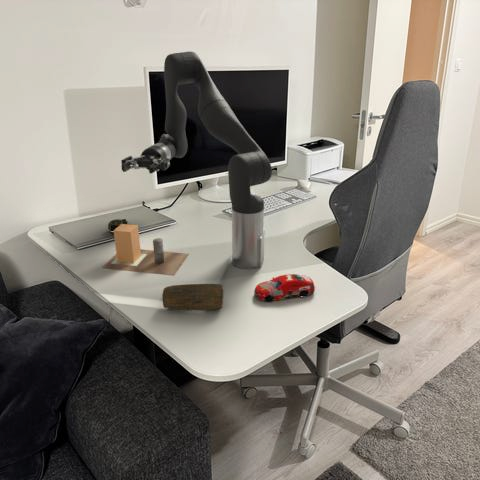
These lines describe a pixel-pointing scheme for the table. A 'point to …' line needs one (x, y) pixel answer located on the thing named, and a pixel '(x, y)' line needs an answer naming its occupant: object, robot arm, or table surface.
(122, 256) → the tall wooden pillar
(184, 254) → the board
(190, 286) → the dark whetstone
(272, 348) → the table surface
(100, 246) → the table surface
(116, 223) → the tape measure
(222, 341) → the table surface
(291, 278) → the race car
